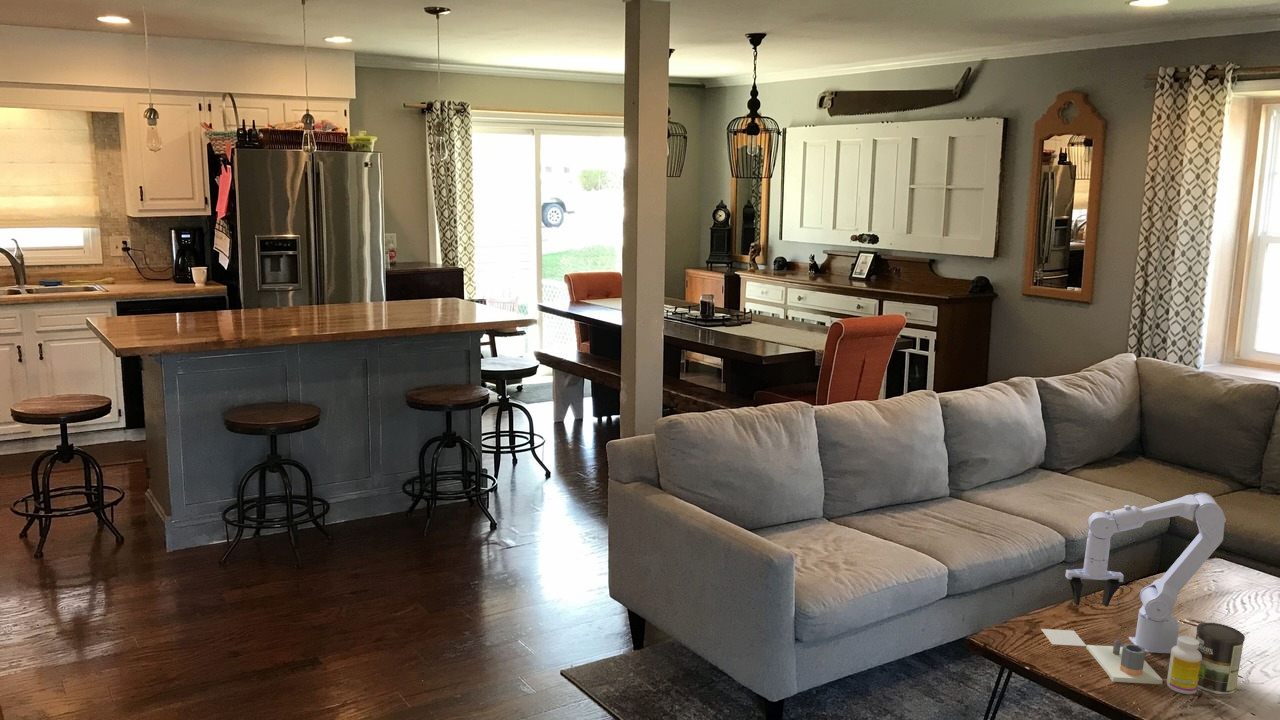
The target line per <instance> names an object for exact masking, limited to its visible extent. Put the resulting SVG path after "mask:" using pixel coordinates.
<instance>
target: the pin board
mask: <svg viewBox="0 0 1280 720" xmlns="http://www.w3.org/2000/svg"><path fill="white" fill-rule="evenodd" d="M1121 643H1122V642H1121V640H1119V639H1115V640H1114V641H1113V645H1094V644H1086V646H1085V648H1086V650H1087V651H1088V652H1089V653H1090V655H1091V656H1092V657H1093V658H1094V659H1095V660H1096V662H1097V663H1098V664H1099V666H1101V668H1102V669H1103V670H1104V671H1105V673H1106V674H1107V676H1108V678H1109V679H1110V680H1111V682H1112V683H1113V682H1114V683H1129V684H1130V683H1133V684H1149V685H1163V679H1162V678H1161V676H1160V675H1159V674H1158V673H1157V672H1156V671H1155V670H1154V668H1153V667H1152V666H1151V665H1149V664H1148V662H1147V661H1146V660H1145V659H1144V665H1143V673H1142V675H1138V676H1134V675H1129V674H1126V673H1124V672H1122V671H1121V670H1120V662H1121V654H1122V647H1123V646H1121V645H1122V644H1121Z"/></svg>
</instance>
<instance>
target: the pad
mask: <svg viewBox="0 0 1280 720" xmlns="http://www.w3.org/2000/svg"><path fill="white" fill-rule="evenodd" d="M1040 630H1041V632H1042V633H1043V634H1044V635H1045V637H1046V638H1047V640H1049V642H1050V643H1051V645H1054V646H1055V645H1057V646H1058V645H1060V646H1077V647H1086V646H1087V644H1086V643H1085V642H1084V640H1082V638H1081V637H1080V636H1079V634H1077V633H1076V631H1075V630H1071V629H1069V630H1068V629H1054V628H1053V629H1050V628H1049V629H1048V628H1040Z"/></svg>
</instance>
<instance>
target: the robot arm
mask: <svg viewBox="0 0 1280 720" xmlns="http://www.w3.org/2000/svg"><path fill="white" fill-rule="evenodd" d="M1123 507H1124V508H1123ZM1123 507H1122V508H1119V509H1114V510H1109V509H1108V510H1105V512H1102V511H1095V512H1093V513H1092V514H1091V515H1090V516H1089V518H1088V519H1086V520H1087V521H1086V523H1087V525H1088V527H1089V529H1088V533H1087V538H1086V544H1085V555H1084V562H1083V568H1076V569H1075V568H1074V569H1065V578H1066V579H1067V580H1068V582H1069V585H1070V587H1071V591H1072V596H1073V597H1072V598H1073V603H1074V604H1075V606H1080V603H1081V593H1082V590H1083V588H1084V584H1083V583H1082V580H1096V581H1097V580H1100V581H1103V593H1102V605H1103V606H1104V607H1105V608H1106V607H1107V608H1108V607H1109V605H1110V602H1111V600H1112V599H1113V596H1114V595H1115V593H1116V592H1117V591H1118V590H1119V589H1120V588H1121V584H1120V583H1123V582H1124V574H1123V572H1120V571H1113V570H1112V571H1111V570H1108V567H1109V566H1108V565H1109V555H1110V548H1111V537H1112V536H1113V535H1114V534H1115V533H1121V532H1122V533H1123V532H1125V531H1130V530H1134V529H1138V528H1142V527H1143V526H1144V524H1145V523H1146V522H1148V521H1149V522H1150V521H1155V520H1161V519H1166V518H1167V519H1168V518H1172V517H1173V518H1174V517H1177V516H1178V517H1182V518H1184V519H1187V520H1188V521H1191V522H1193V521H1194V519H1195V520H1196V525H1197V529H1198V534H1197V535H1196V536H1195V538H1193V540H1192V541H1191V542H1190V544H1188V545H1187V547H1185V548H1184V550H1183V552H1182V553H1181V554H1180V556H1179V557H1178V558H1177V559H1176V560H1175V561H1174V563H1173V564H1172V565H1170V567H1169V568H1168V569H1167V571H1166V572H1165V573H1164V574H1163V575H1162V577H1160V578H1157V579H1154V581H1153V582H1152V583H1151V584H1149V585H1147V586H1145V587H1143V588H1142V589H1141V590H1140V593H1139V600H1140V601H1141V602H1140V603H1142V606H1141V607H1140V608H1139V610H1138V616H1137V624H1136V630H1135V636H1128V639H1129V641H1130V642H1131V643H1132V644H1134V645H1139V646H1140V647H1142V648H1144V649H1145V653H1151V654H1153V653H1154V654H1170V655H1171V649H1172V648H1173V647H1174V646H1176V645H1178V644H1177V639H1178V637H1179V631H1180V630H1179V629H1180V628H1179V622H1178V620H1177V618H1176V617H1175V616H1173V615H1171V614H1172V612H1173V607H1174V606H1175V604H1176V603H1177V601H1178V597H1179V594H1180V592H1181V590H1182V589H1183V588H1184V587H1185V586H1186V585H1187V584H1188V582H1189V581H1190V580H1191V579H1192V578H1193V576H1194V575H1195V574H1196V573H1197V572H1198V571H1199V569H1200V568H1201V567H1202V566H1203V565H1204V563H1206V562H1207V560H1208V559H1209V558H1210V557H1211V555H1212V554H1213V553H1214V552H1215V551H1216V549H1217V548H1218V547H1220V545H1221V544H1222V543H1223V541H1224V533H1225V523H1226V521H1227V519H1226V515H1225V513H1224V511H1223V509H1222V508H1221V506H1220V505H1219V504H1218V503H1217V502H1216V500H1215V498H1214V497H1213V496H1212V495H1211V494H1209V493H1206V492H1198V493H1195V494H1187V495H1184V496H1181V497H1178V498H1175V499H1171V500H1168V501H1164V502H1161V503H1158V504H1154V505H1149V506H1146V507H1144V508H1140V507H1138V506H1135V505H1132V506H1130V504H1126V505H1123Z"/></svg>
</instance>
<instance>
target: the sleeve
mask: <svg viewBox="0 0 1280 720" xmlns="http://www.w3.org/2000/svg"><path fill="white" fill-rule="evenodd" d="M1121 647H1122V654H1121V662H1120V670H1121V671H1122V672H1124V673H1126V674H1129V675H1134V676H1138V675H1142V673H1143V665H1144V660H1145V656H1146V652H1145V649H1144V648H1142V647H1140V646H1139V645H1134V644H1133V643H1124V644H1122V646H1121Z"/></svg>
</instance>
